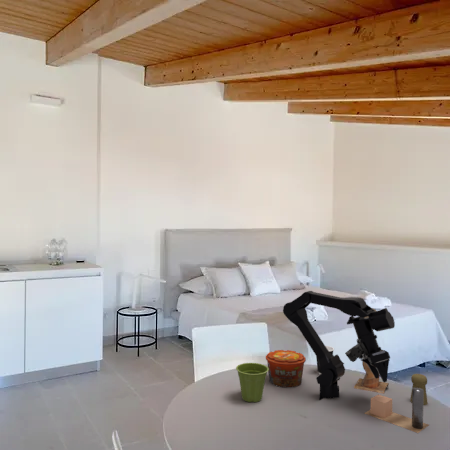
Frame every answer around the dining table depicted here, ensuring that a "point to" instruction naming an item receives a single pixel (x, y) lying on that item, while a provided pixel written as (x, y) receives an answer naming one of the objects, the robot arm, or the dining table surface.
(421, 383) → the cork
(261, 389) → the plant pot
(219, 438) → the dining table surface
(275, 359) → the food container
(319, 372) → the dixie cup
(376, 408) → the cube
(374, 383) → the bird sculpture
